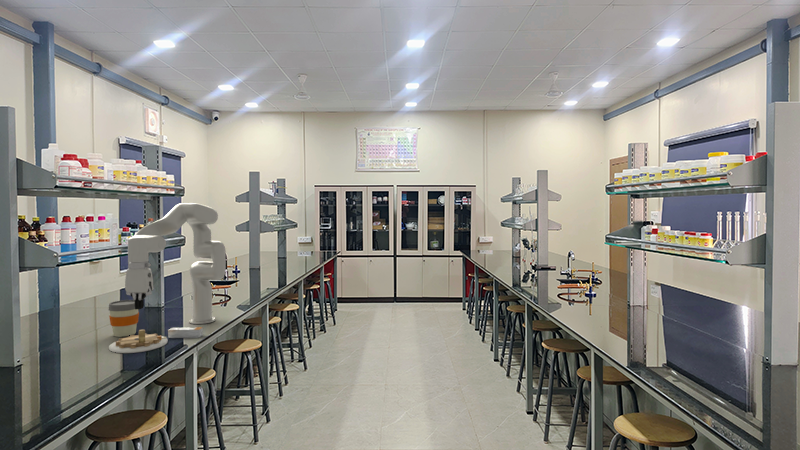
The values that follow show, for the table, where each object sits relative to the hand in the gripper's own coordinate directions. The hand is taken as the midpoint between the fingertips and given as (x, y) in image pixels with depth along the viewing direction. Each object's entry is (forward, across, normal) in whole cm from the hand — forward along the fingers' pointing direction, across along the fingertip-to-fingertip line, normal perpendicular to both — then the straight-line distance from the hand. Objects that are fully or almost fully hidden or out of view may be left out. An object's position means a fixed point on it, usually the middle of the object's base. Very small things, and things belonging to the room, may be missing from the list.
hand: (139, 308), depth 192 cm
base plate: (+17, +3, -3) cm, 17 cm away
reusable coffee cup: (+17, +20, -18) cm, 32 cm away
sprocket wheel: (+16, +3, -3) cm, 16 cm away
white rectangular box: (+17, -10, -17) cm, 27 cm away
